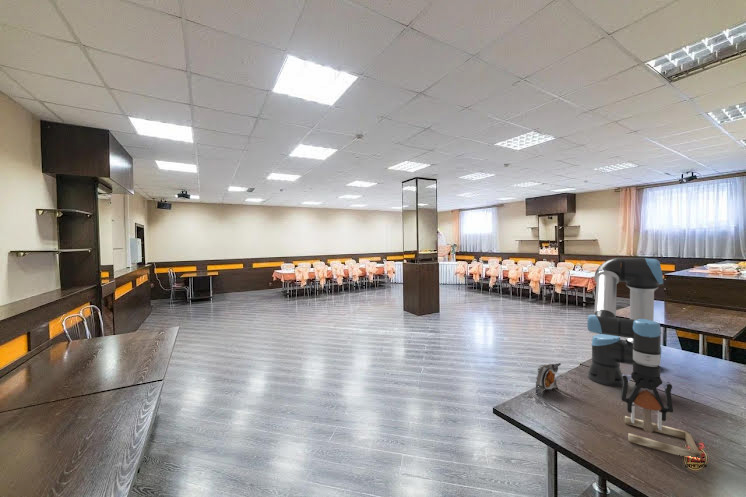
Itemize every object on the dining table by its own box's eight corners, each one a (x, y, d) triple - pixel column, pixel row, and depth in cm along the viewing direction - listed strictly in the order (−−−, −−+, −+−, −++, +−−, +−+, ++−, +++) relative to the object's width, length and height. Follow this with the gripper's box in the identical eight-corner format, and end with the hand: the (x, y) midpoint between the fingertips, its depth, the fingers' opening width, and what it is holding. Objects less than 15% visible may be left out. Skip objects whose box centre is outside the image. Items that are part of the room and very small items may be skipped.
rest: (628, 443, 109) (628, 434, 108) (624, 423, 120) (624, 415, 120) (700, 464, 98) (701, 454, 98) (689, 440, 110) (689, 432, 110)
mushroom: (631, 421, 117) (632, 383, 116) (660, 429, 112) (661, 389, 111) (632, 431, 110) (633, 391, 110) (662, 440, 105) (663, 398, 105)
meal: (544, 398, 140) (544, 370, 140) (535, 394, 144) (535, 367, 143) (561, 389, 148) (561, 363, 148) (552, 386, 152) (552, 360, 151)
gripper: (612, 360, 113) (612, 420, 114) (686, 373, 102) (686, 440, 102) (611, 354, 119) (611, 411, 120) (681, 365, 108) (680, 429, 108)
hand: (645, 424), depth 111 cm, fingers closed on mushroom, 7 cm apart
